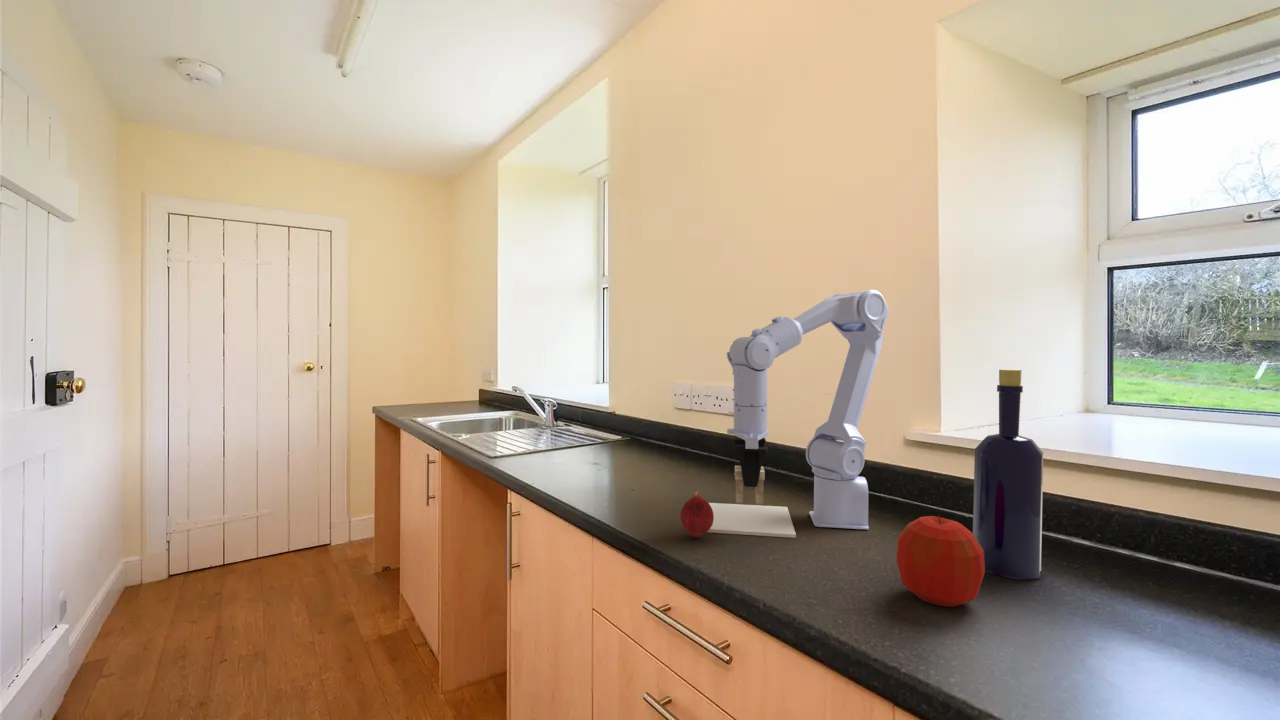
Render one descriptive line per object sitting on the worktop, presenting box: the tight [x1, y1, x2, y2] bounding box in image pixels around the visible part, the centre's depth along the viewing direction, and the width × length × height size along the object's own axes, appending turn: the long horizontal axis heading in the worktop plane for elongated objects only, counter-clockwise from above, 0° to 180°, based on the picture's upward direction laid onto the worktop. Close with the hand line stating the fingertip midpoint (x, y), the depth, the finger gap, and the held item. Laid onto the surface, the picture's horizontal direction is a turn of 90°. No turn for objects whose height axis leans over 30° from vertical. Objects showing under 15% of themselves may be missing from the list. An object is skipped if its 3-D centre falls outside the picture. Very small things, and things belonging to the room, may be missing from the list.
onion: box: [679, 491, 714, 539], centre depth 93 cm, size 6×6×8 cm
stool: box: [734, 464, 766, 506], centre depth 94 cm, size 5×5×6 cm
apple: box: [896, 514, 986, 608], centre depth 70 cm, size 10×10×12 cm
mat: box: [706, 502, 797, 539], centre depth 102 cm, size 16×16×1 cm
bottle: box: [972, 368, 1044, 581], centre depth 81 cm, size 9×9×30 cm
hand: (750, 482), depth 94 cm, fingers closed on stool, 5 cm apart
